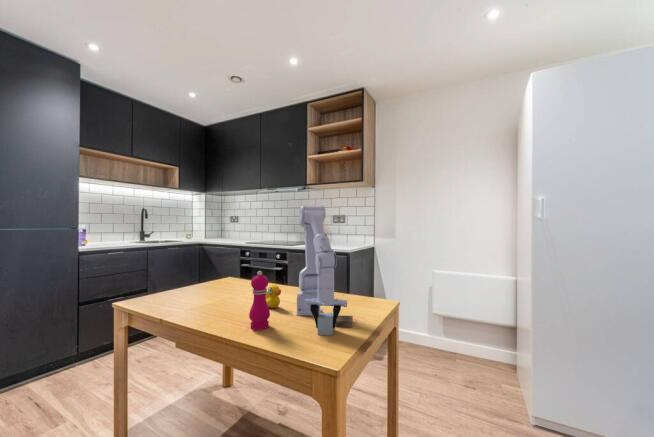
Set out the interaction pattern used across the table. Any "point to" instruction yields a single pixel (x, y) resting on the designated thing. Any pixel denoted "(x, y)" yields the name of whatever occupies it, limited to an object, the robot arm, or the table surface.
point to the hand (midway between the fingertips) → (325, 327)
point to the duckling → (273, 296)
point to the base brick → (344, 321)
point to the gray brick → (325, 324)
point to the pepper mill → (259, 303)
